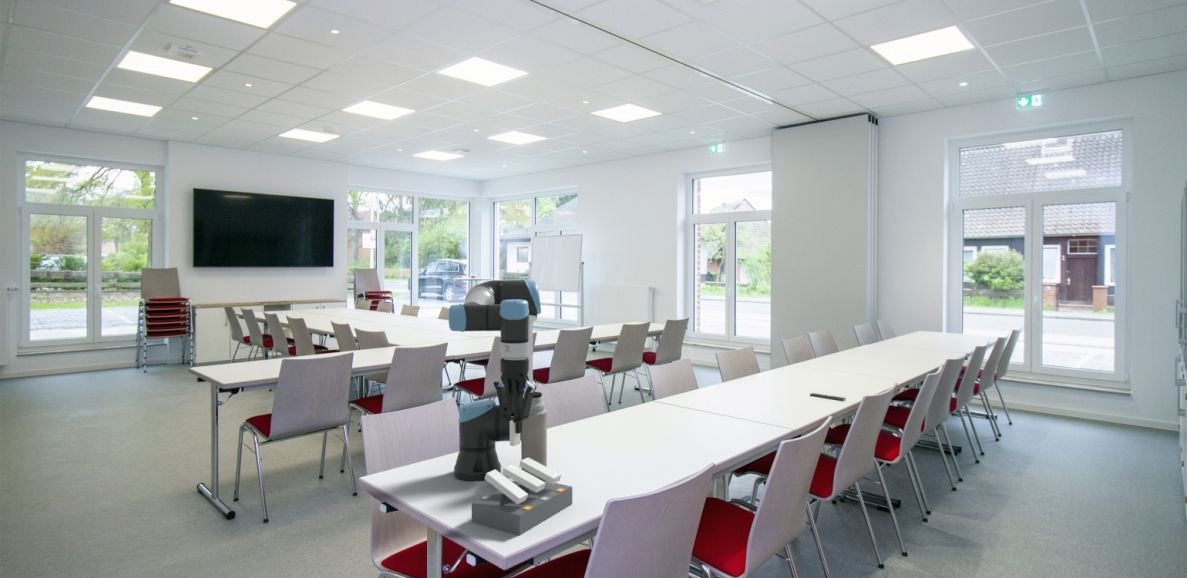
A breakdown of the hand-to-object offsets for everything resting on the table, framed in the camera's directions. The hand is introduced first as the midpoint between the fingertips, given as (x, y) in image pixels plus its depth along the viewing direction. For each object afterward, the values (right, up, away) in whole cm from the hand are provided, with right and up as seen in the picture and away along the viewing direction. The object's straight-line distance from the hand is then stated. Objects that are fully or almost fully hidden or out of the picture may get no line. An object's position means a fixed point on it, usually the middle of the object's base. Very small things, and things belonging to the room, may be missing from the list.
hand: (515, 444), depth 163 cm
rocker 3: (+6, -10, +9) cm, 14 cm away
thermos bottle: (+2, -19, +28) cm, 34 cm away
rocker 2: (+2, -10, +3) cm, 10 cm away
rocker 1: (-2, -10, -4) cm, 11 cm away
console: (+2, -19, +3) cm, 20 cm away
